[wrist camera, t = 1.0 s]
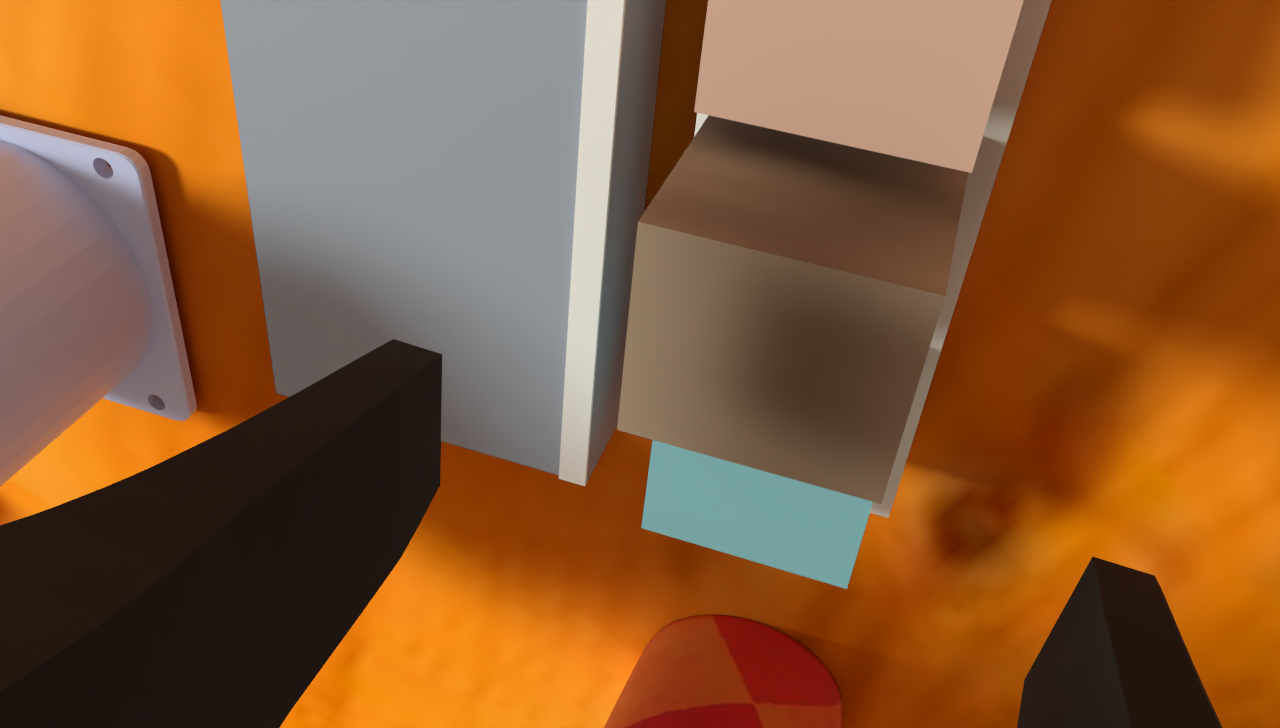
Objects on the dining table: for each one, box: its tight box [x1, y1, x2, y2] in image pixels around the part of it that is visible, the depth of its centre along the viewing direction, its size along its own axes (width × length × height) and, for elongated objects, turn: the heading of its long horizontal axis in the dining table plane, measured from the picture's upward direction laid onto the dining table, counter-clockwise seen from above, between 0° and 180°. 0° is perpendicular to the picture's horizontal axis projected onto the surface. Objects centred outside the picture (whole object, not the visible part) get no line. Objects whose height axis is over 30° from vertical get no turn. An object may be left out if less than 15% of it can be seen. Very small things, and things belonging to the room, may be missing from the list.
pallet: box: [617, 0, 1052, 518], centre depth 18 cm, size 5×13×7 cm, turn 175°
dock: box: [221, 0, 666, 486], centre depth 21 cm, size 8×15×3 cm, turn 175°
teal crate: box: [641, 440, 873, 589], centre depth 21 cm, size 4×4×2 cm
